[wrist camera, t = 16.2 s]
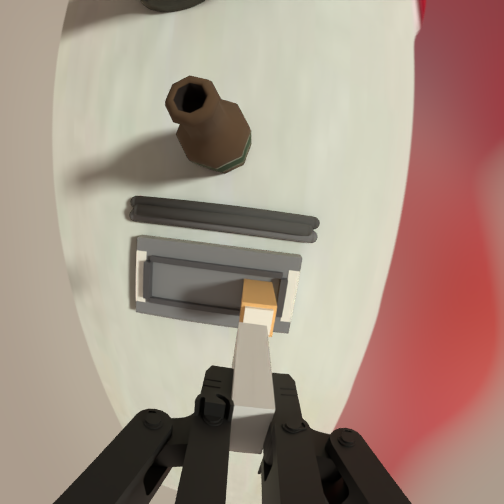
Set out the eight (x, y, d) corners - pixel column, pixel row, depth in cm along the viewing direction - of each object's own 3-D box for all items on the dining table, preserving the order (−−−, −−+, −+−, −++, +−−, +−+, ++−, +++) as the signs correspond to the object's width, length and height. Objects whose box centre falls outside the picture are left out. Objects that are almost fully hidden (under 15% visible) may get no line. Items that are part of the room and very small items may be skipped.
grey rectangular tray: (142, 234, 42) (133, 238, 39) (300, 254, 43) (304, 260, 40) (140, 307, 45) (132, 315, 42) (286, 327, 46) (289, 337, 42)
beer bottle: (226, 185, 41) (192, 179, 18) (186, 151, 40) (112, 111, 16) (262, 145, 40) (276, 90, 16) (222, 112, 39) (189, 30, 15)
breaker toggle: (244, 278, 42) (242, 304, 32) (272, 282, 42) (277, 308, 32) (240, 304, 42) (237, 335, 33) (268, 307, 42) (272, 339, 33)
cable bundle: (132, 219, 42) (123, 222, 39) (134, 195, 41) (125, 195, 38) (314, 242, 43) (319, 246, 40) (318, 217, 42) (324, 219, 39)
